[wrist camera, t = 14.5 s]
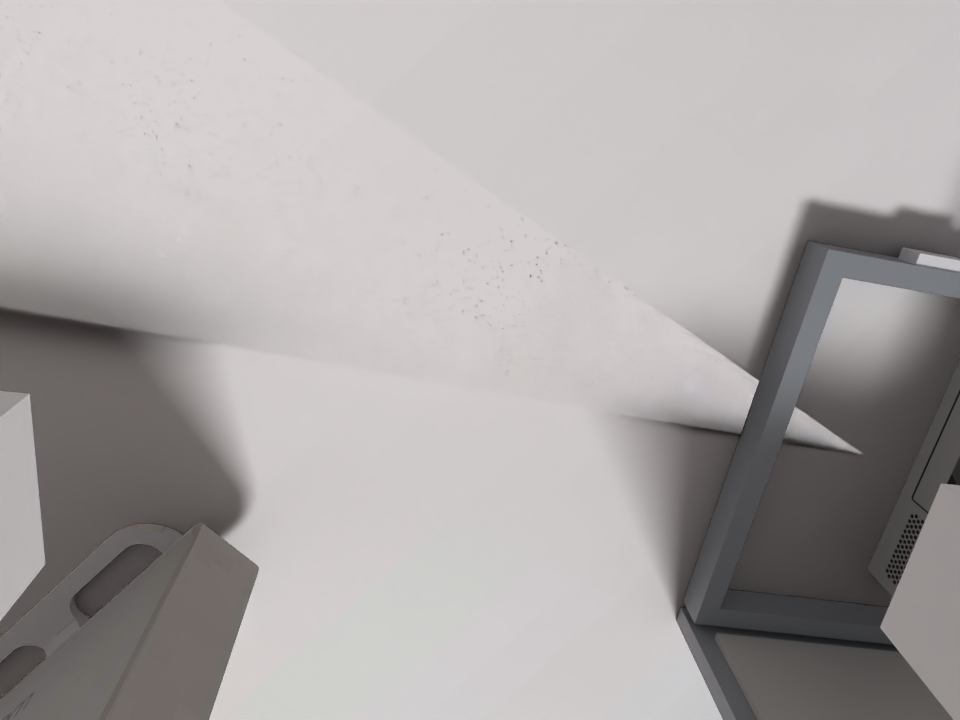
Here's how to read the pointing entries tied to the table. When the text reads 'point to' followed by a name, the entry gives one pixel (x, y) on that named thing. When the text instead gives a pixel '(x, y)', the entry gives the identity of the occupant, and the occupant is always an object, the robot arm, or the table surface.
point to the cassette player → (921, 489)
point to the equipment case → (709, 603)
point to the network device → (136, 634)
